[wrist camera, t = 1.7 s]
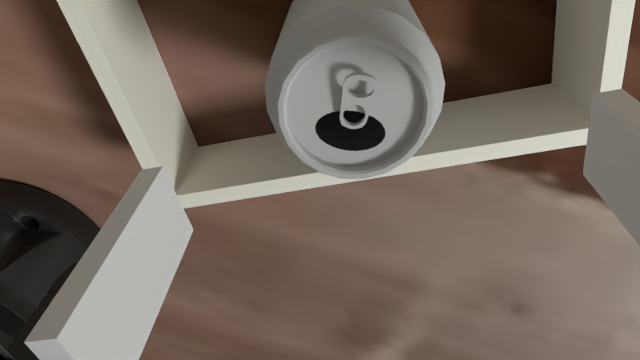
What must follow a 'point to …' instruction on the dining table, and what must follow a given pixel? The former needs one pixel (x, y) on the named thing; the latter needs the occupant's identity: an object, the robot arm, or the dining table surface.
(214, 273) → the dining table surface
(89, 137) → the dining table surface
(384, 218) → the dining table surface
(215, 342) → the dining table surface
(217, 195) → the white rectangular frame
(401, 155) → the can
